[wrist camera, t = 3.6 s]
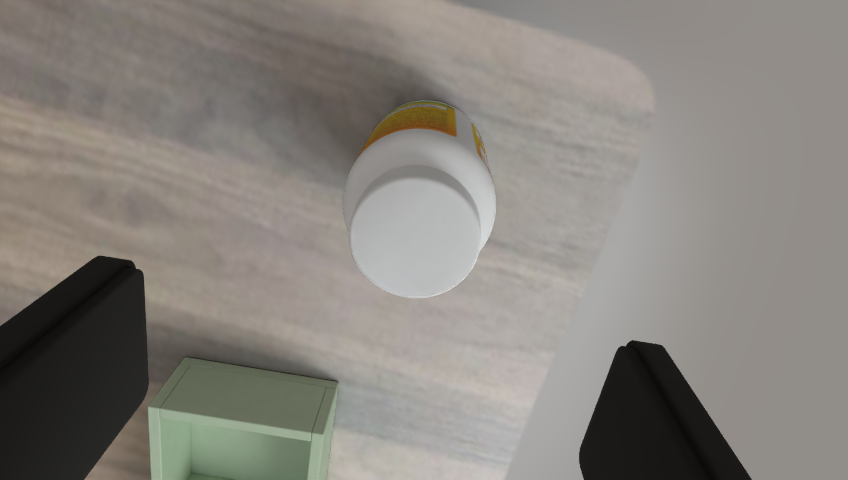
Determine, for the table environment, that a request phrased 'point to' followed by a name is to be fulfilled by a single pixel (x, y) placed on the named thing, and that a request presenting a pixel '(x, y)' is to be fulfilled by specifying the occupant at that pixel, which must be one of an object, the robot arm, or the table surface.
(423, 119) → the supplement bottle
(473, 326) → the table surface
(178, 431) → the tray
